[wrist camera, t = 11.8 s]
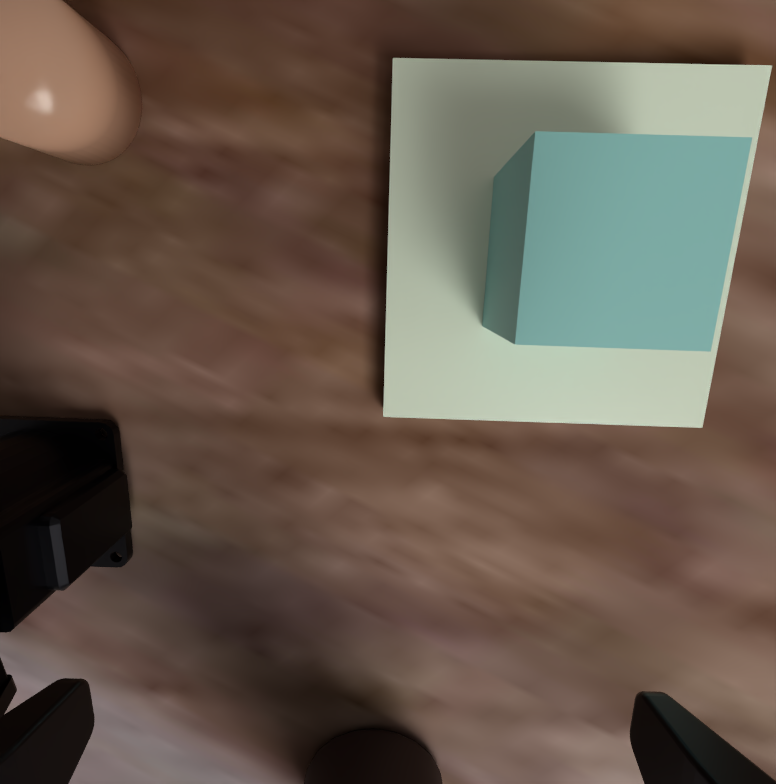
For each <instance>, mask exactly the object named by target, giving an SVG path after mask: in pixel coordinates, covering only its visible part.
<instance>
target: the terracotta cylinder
mask: <svg viewBox="0 0 776 784" xmlns="http://www.w3.org/2000/svg"><path fill="white" fill-rule="evenodd" d="M141 114H142V97H141V90H140V86H139V82H138V79H137V76H136V74H135V71H134V69H133V67H132V65H131V63H130V62H129V60H128V59H127V57H126V56H125V55H124V53H123V52H122V51H121V50H120V49H119V47H117V46H116V45H115V44H114V43H113V42H112V41H111V40H110V39H109V38H107V37H106V36H105V35H104V34H103V33H101V32H100V31H99V30H98V29H96V28H95V27H94V26H93V25H92V24H90V23H89V22H88V21H87V20H86V19H84V18H83V17H82V16H81V15H80V14H78V13H77V12H76V11H75V10H74V9H72V8H71V7H70V6H69V5H67V4H66V3H65V2H64V1H63V0H0V137H1V138H4V139H6V140H9V141H12V142H15V143H18V144H21V145H23V146H26V147H29V148H32V149H35V150H37V151H40V152H43V153H46V154H49V155H51V156H54V157H57V158H60V159H63V160H65V161H68V162H71V163H75V164H79V165H98V164H103V163H106V162H108V161H111V160H112V159H114V158H116V157H118V156H119V155H120V154H121V153H123V152H124V151H125V150H126V149H127V148H128V146H129V145H130V144H131V142H132V141H133V139H134V137H135V135H136V133H137V130H138V128H139V125H140V120H141Z"/></svg>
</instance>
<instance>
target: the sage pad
mask: <svg viewBox="0 0 776 784" xmlns="http://www.w3.org/2000/svg"><path fill="white" fill-rule="evenodd" d="M771 68H772V66H769V65H720V64H671V63H622V62H572V61H523V60H474V59H425V58H393V69H392V107H391V144H390V182H389V219H388V256H387V294H386V331H385V369H384V406H383V417H404V418H433V419H463V420H492V421H521V422H551V423H580V424H609V425H638V426H668V427H697V428H702V427H703V421H704V416H705V411H706V406H707V401H708V395H709V390H710V385H711V380H712V375H713V369H714V364H715V359H716V354H717V349H718V343H719V338H720V333H721V328H722V323H723V318H724V312H725V307H726V302H727V297H728V292H729V286H730V281H731V276H732V271H733V266H734V260H735V255H736V250H737V245H738V240H739V234H740V229H741V224H742V219H743V214H744V209H745V203H746V198H747V193H748V188H749V183H750V177H751V172H752V167H753V162H754V157H755V151H756V146H757V141H758V136H759V131H760V125H761V120H762V115H763V110H764V105H765V99H766V94H767V89H768V84H769V79H770V74H771ZM535 131H545V132H581V133H616V134H652V135H687V136H723V137H752V142H751V147H750V152H749V157H748V163H747V168H746V173H745V178H744V183H743V188H742V193H741V199H740V204H739V209H738V214H737V219H736V224H735V229H734V235H733V240H732V245H731V250H730V255H729V260H728V266H727V271H726V276H725V281H724V286H723V291H722V296H721V302H720V307H719V312H718V317H717V322H716V327H715V332H714V338H713V343H712V348H711V352H707V351H679V350H651V349H623V348H595V347H567V346H539V345H515V344H513V343H511V342H509V341H508V340H506V339H504V338H502V337H501V336H499V335H497V334H495V333H493V332H492V331H490V330H488V329H486V328H485V327H483V326H482V321H483V308H484V295H485V283H486V270H487V257H488V245H489V232H490V219H491V207H492V194H493V181H494V176H495V175H496V174H497V173H498V172H499V171H500V170H501V168H502V167H503V166H504V165H505V164H506V163H507V162H508V161H509V160H510V159H511V157H512V156H513V155H514V154H515V153H516V152H517V151H518V150H519V149H520V148H521V146H522V145H523V144H524V143H525V142H526V141H527V140H528V139H529V138H530V137H531V135H532V134H533V133H534V132H535Z"/></svg>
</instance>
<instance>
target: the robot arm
mask: <svg viewBox="0 0 776 784" xmlns="http://www.w3.org/2000/svg"><path fill="white" fill-rule="evenodd" d="M101 428H102V429H104V430H105V431H106V432H107V434H108V435H107V437H105V436H104V435H103V434H102V432H101ZM131 528H132V520H131V511H130V502H129V493H128V484H127V475H126V474H125V472H124V469H123V460H122V451H121V442H120V433H119V429H118V427H117V425H116V424H115V423H114V422H112V421H110V420H106V419H77V418H48V417H19V416H0V632H10V631H12V630H13V629H14V628H15V627H16V626H17V625H18V624H19V623H21V622H22V621H23V620H24V619H25V618H26V617H27V616H28V615H29V614H31V613H32V612H33V611H34V610H35V609H36V608H37V607H38V606H39V605H40V604H42V603H43V602H44V601H45V600H46V599H47V598H48V597H49V596H50V595H52V594H53V593H54V592H55V591H56V590H61V591H63V590H65V589H66V588H68V587H69V586H70V585H71V584H72V583H73V582H74V581H75V580H76V579H77V578H78V577H79V576H81V575H82V574H83V573H84V572H85V571H86V570H87V569H88V568H89V567H90V566H94V567H122V566H124V565H125V564H126V563H127V562H128V561H129V560H130V559H131V557H132V554H133V550H132V541H131V532H130V529H131ZM116 552H118V553H120V554H121V556H122V557H120V556H118V555H117V554H116ZM16 691H17V688H16V686H15V683H14V680H13V678H12V676H11V675H7V674H6V671H5V669H4V666H3V663H2V661H1V658H0V784H68V783H69V781H70V779H71V777H72V775H73V773H74V771H75V769H76V766H77V764H78V762H79V760H80V758H81V756H82V754H83V752H84V749H85V747H86V745H87V743H88V741H89V739H90V737H91V734H92V731H93V727H94V712H93V706H92V699H91V693H90V687H89V683H88V682H87V681H86V680H84V679H68V678H64V679H60V680H57V681H55V682H54V683H52V684H51V685H49V686H48V687H46V688H44V689H43V690H41V691H40V692H38V693H37V694H35V695H34V696H32V697H31V698H29V699H28V700H26V701H25V702H23V703H21V704H20V705H18V706H17V707H15V708H14V709H12V710H11V711H9V712H8V713H6V714H5V715H4V713H5V712H6V710H7V708H8V706H9V704H10V702H11V701H12V699H13V697H14V695H15V693H16ZM630 741H631V745H632V749H633V752H634V755H635V758H636V761H637V763H638V766H639V769H640V772H641V775H642V778H643V781H644V783H645V784H776V781H775V780H774V779H773V778H771V777H770V776H769V775H768V774H766V773H765V772H764V771H763V770H761V769H760V768H759V767H758V766H756V765H755V764H754V763H753V762H751V761H750V760H749V759H748V758H746V757H745V756H744V755H743V754H741V753H740V752H739V751H738V750H736V749H735V748H734V747H733V746H731V745H730V744H729V743H728V742H726V741H725V740H724V739H723V738H721V737H720V736H719V735H718V734H716V733H715V732H714V731H713V730H711V729H710V728H709V727H708V726H706V725H705V724H704V723H703V722H701V721H700V720H699V719H698V718H696V717H695V716H694V715H693V714H691V713H690V712H689V711H688V710H686V709H685V708H684V707H683V706H681V705H680V704H679V703H678V702H676V701H675V700H674V699H673V698H671V697H670V696H669V695H667V694H665V693H663V692H644V691H642V692H639V693H638V694H637V695H636V697H635V702H634V708H633V714H632V721H631V727H630Z"/></svg>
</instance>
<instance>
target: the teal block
mask: <svg viewBox="0 0 776 784" xmlns="http://www.w3.org/2000/svg"><path fill="white" fill-rule="evenodd" d="M751 142H752V137H723V136H687V135H652V134H616V133H581V132H545V131H535V132H534V133H533V134H532V135H531V137H530V138H529V139H528V140H527V141H526V142H525V143H524V144H523V145H522V146H521V148H520V149H519V150H518V151H517V152H516V153H515V154H514V155H513V156H512V157H511V159H510V160H509V161H508V162H507V163H506V164H505V165H504V166H503V167H502V168H501V170H500V171H499V172H498V173H497V174H496V175H495V176H494V181H493V194H492V207H491V219H490V232H489V245H488V257H487V270H486V283H485V295H484V308H483V321H482V326H483V327H485V328H486V329H488V330H490V331H492V332H493V333H495V334H497V335H499V336H501V337H502V338H504V339H506V340H508V341H509V342H511V343H513V344H515V345H539V346H567V347H595V348H623V349H651V350H679V351H707V352H711V348H712V343H713V338H714V332H715V327H716V322H717V317H718V312H719V307H720V302H721V296H722V291H723V286H724V281H725V276H726V271H727V266H728V260H729V255H730V250H731V245H732V240H733V235H734V229H735V224H736V219H737V214H738V209H739V204H740V199H741V193H742V188H743V183H744V178H745V173H746V168H747V163H748V157H749V152H750V147H751Z"/></svg>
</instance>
